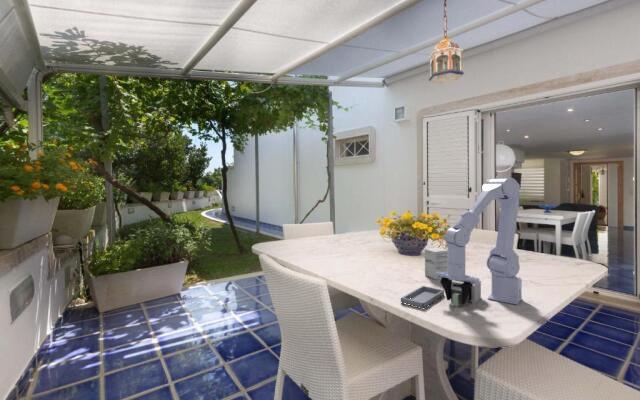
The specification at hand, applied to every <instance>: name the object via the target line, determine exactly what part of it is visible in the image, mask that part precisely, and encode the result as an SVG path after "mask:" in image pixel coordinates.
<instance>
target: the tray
mask: <svg viewBox="0 0 640 400" xmlns="http://www.w3.org/2000/svg"><path fill="white" fill-rule="evenodd" d="M444 296H445V291H444V289H439V288H435V287H429V286H425V285H421V286H420V287H418V288H416V289H414V290H412V291H411V292H409V293H407V294H405V295H403V296H402V297H400V303H401V302H402V303H406V304H410V305H413V306H417V307H420V308H419V309H421V308H425V307H426V308H427V306H428V305H429V306H431V305H432V304H434V303H435V302H436V300H437V301H438V300H440V299H441V298H443V297H444ZM410 298H411V299H410ZM439 298H440V299H439ZM434 301H435V302H434ZM433 302H434V303H433ZM431 303H432V304H431ZM430 304H431V305H430ZM413 306H412V307H413ZM429 306H428V307H429ZM417 307H416V308H417ZM426 308H425V309H426Z"/></svg>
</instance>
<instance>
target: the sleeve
mask: <svg viewBox="0 0 640 400" xmlns="http://www.w3.org/2000/svg"><path fill="white" fill-rule="evenodd" d="M462 283H463V282H460V281H454V280H452V285H451V289H452V288H453V287H455V286H456V285H461V284H462ZM481 291H482V281H481V280H479V285H474V284H473V285H472V300H471V303H472V304H475V303H476V302H478V301H479V300H480V299H481V298H482V296H481V295H482V292H481Z"/></svg>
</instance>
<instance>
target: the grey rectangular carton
mask: <svg viewBox="0 0 640 400" xmlns="http://www.w3.org/2000/svg"><path fill="white" fill-rule="evenodd" d="M470 302H472V287H471V289H470V291H469V293H468V296H467V300H466V303H465V304H462V289H461V285H456V286H455V287H453V288H452V289H451V299H450V303H451V304H452V306H453V307H459V306H464V307H465V306H466V305H467V304H469V303H470Z"/></svg>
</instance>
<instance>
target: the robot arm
mask: <svg viewBox="0 0 640 400" xmlns="http://www.w3.org/2000/svg"><path fill="white" fill-rule="evenodd" d="M481 187H482V188H481V189H482V191H481V192H480V194H479V195H478V197H477V198H476V200H475V202H474V204H473V205H472V206H471V208H470V210H466V211H463V212H462V213H461V214H460V216H459V218H458V219H457V221H456V222H455V224H453V226H452V227H451V228H449V229H447V231H446V232H445V233H444V235H443V239H444V242H445V243H446V248H447V251H448V272H438V271H437V272H435V278H442V279H440V281H439V282H440V285H441V286H442V288H443V290H444V295H445V296H446V301H451V285H452V280H454V281H460V282H463V283H462V284H461V289H462V304H465V303H466V300H467V296H468V293H469V291H470V289H471V287H472V285H473V284H474V285H479V281H480V278H478V277H474V276H471V275H466V245H468V243H469V242H470V240H471V238H470V236H471V235H472V234H471V233H472V232H473V231H474V229H475V227H476V226H477V225H479V222H480V217H479V216H481V215H482V213H483V211H485V210H486V208H488V206H489V205H490V204H491V203H492V201H493V200H497V202H498V203H499V204H500V212H499V220H498V221H499V222H498V228H497V229H498V230H497V236H496V244H495V247H494V248H492V249H491V250H490V251H489V256H488V257H487V258H486V259H487V260H486V267H487V268H488V269H489V272H490V273H491V293H490V295H488V297H487V299H488V300H492V301H497V302H502V303H508V304H511V305H518V304H519V303H520V302H521V301H522V299H523V297H522V293H523V292H522V287H523V285H522V281H523V280H522V278H521V277H520V276H517V275H518V274H519V272H520V268H521V267H520V265H521V264H520V261H519V259H520V256H519V255H518V254H517V253H516V251H515V250H514V243H515V235H516V230H517V229H516V228H517V221H518V213H519V205H520V199H519V198H520V197H519V196H520V188H521V185H520V184H519V183H518V181H517V180H516V179H515V178H513V177H507V178H493V177H492V178H488V179H487V180H486V181H485V183H483V185H482V186H481Z"/></svg>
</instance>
